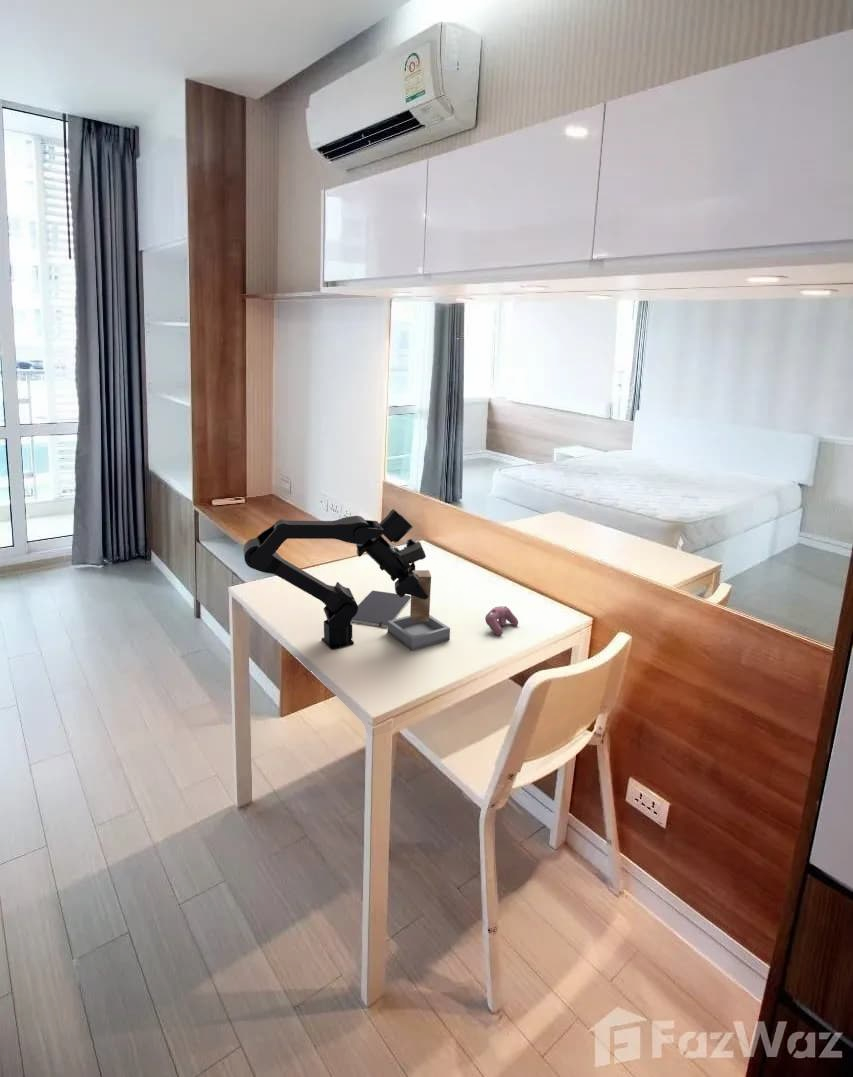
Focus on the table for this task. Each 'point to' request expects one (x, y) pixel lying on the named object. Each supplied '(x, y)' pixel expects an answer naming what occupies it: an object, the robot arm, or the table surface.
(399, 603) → the notebook
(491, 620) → the video game controller
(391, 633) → the tray
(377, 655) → the table surface
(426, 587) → the walnut handle block
